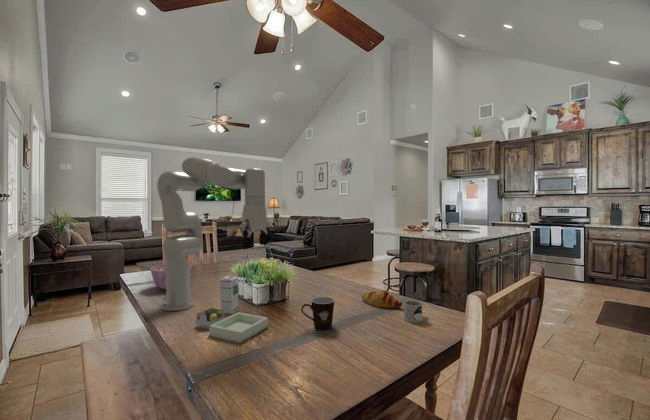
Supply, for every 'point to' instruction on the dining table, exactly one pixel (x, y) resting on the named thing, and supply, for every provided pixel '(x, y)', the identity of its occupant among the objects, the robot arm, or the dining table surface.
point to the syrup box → (229, 294)
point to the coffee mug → (321, 312)
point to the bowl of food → (160, 276)
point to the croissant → (381, 299)
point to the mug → (413, 311)
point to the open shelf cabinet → (204, 316)
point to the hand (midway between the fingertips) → (255, 246)
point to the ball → (213, 317)
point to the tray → (238, 327)
